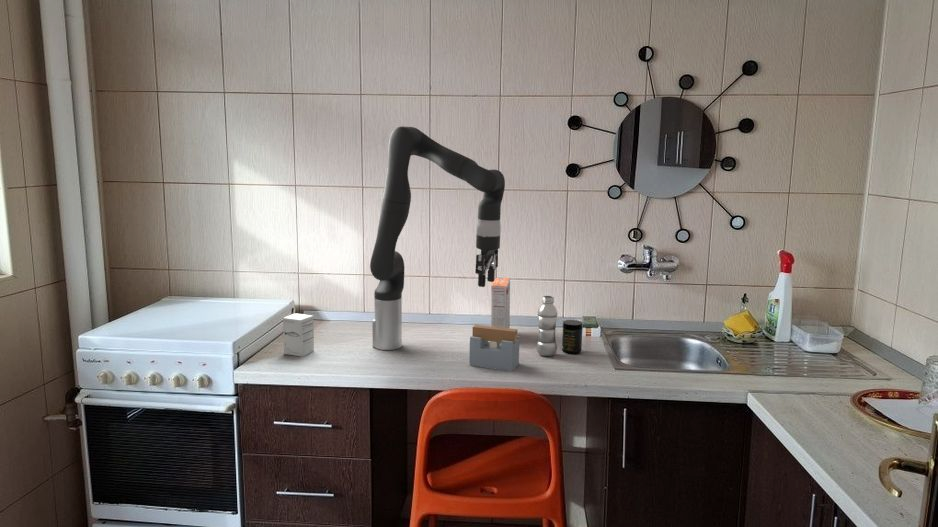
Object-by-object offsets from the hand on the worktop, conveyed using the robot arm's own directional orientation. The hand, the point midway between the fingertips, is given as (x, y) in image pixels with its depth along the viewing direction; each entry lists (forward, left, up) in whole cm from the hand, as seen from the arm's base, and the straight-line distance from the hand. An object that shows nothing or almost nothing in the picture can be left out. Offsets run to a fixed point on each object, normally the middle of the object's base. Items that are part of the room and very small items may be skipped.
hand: (486, 284), depth 219 cm
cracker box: (-4, +28, -26) cm, 38 cm away
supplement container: (+24, +21, -26) cm, 41 cm away
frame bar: (+4, -2, -18) cm, 18 cm away
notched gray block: (+4, -2, -26) cm, 26 cm away
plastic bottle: (+17, +14, -26) cm, 34 cm away
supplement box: (-60, -16, -26) cm, 67 cm away
